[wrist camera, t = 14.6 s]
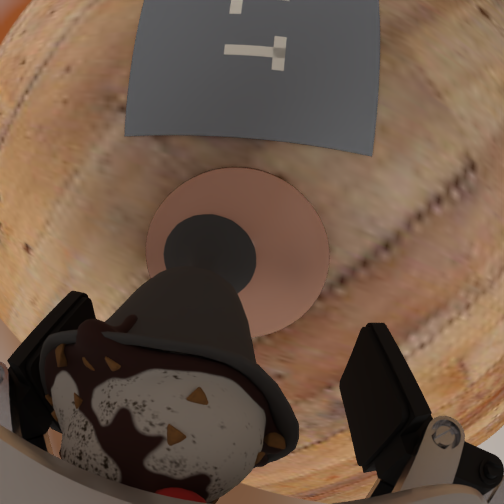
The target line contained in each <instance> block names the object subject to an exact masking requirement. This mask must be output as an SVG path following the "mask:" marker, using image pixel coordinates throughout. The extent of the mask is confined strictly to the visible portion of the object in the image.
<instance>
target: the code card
mask: <svg viewBox="0 0 504 504" xmlns="http://www.w3.org/2000/svg"><path fill="white" fill-rule="evenodd" d="M379 70H380V15H379V0H144V3H143V7H142V11H141V16H140V20H139V25H138V30H137V35H136V40H135V45H134V51H133V57H132V64H131V71H130V78H129V87H128V96H127V106H126V119H125V136H145V135H200V136H223V137H239V138H252V139H263V140H273V141H282V142H290V143H298V144H305V145H312V146H318V147H325V148H331V149H336V150H342V151H347V152H352V153H358V154H362V155H367V156H372V152H373V144H374V136H375V127H376V116H377V105H378V90H379Z"/></svg>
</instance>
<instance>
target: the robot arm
mask: <svg viewBox="0 0 504 504" xmlns="http://www.w3.org/2000/svg"><path fill="white" fill-rule="evenodd" d="M88 319H96V317H95V313H94V309H93V305H92V301H91V299H90V298H88V295H87V294H85V293H81V292H76V291H71V292H70V293H69V294H68V295H67V296H66V297H65V298H64V299H63V300H62V301H61V302H60V303H59V304H58V305H57V306H56V307H55V308H54V309H53V310H52V311H51V312H50V313H49V314H48V315H47V316H46V317H45V318H44V319H43V320H42V321H41V322H40V324H39V325H38V326H37V327H36V328H35V329H34V330H33V331H32V332H31V333H30V335H29V336H28V337H27V338H26V339H25V340H24V341H23V342H22V344H21V345H20V346H19V347H18V348H17V349H16V351H15V352H14V353H13V354H12V355H11V357H10V358H9V359H8V363H9V364H10V367H9V369H7V367H6V365H5V364H4V363H2V362H0V504H209V503H202V502H195V501H189V500H183V499H178V498H173V497H168V496H164V495H160V494H155V493H151V492H148V491H144V490H140V489H137V488H133V487H130V486H127V485H124V484H121V483H118V482H115V481H112V480H109V479H106V478H103V477H101V476H98V475H96V474H93V473H91V472H88V471H86V470H83V469H81V468H79V467H77V466H74V465H72V464H70V463H68V462H66V461H64V460H62V459H59V458H58V457H56V456H54V454H53V450H52V447H51V444H50V439H49V435H48V429H49V427H51V428H52V429H54V430H55V431H58V432H60V433H62V431H61V428H60V425H59V423H58V422H57V421H56V420H55V419H54V418H53V416H52V415H51V413H52V412H53V411H54V409H53V408H52V406H51V405H50V403H49V402H48V400H47V399H46V398H45V393H44V390H43V386H42V383H41V378H40V370H39V362H40V353H41V349H42V346H43V343H44V341H45V340H46V339H47V337H48V336H49V335H51V334H54V333H58V332H62V331H69V330H77V329H78V327H79V325H80V324H81V323H83V322H84V321H85V320H88ZM340 392H341V396H342V400H343V404H344V408H345V412H346V416H347V420H348V424H349V429H350V433H351V437H352V442H353V446H354V450H355V455H356V460H357V463H358V465H359V466H362V468H363V473H365V472H371V471H377V476H378V479H377V480H376V482H375V484H374V485H373V487H372V488H371V490H370V492H369V493H368V495H367V496H366V498H365V499H360V500H354V501H348V502H341V503H333V504H504V475H503V474H504V468H503V464H502V462H501V460H500V459H499V458H498V457H497V456H496V455H494V454H491V453H489V452H487V451H485V450H482V449H480V448H478V447H476V446H474V445H471V444H469V443H467V442H465V434H464V430H463V428H462V426H461V424H460V423H459V422H458V421H457V420H455V419H453V418H451V417H448V416H438V417H436V418H434V419H433V418H432V416H431V410H430V408H429V406H428V404H427V402H426V400H425V398H424V396H423V394H422V392H421V390H420V388H419V386H418V384H417V382H416V380H415V378H414V376H413V374H412V372H411V370H410V368H409V366H408V364H407V362H406V360H405V359H404V357H403V355H402V353H401V351H400V349H399V347H398V346H397V344H396V342H395V340H394V338H393V337H392V335H391V333H390V331H389V330H388V328H387V326H386V325H385V323H368V324H367V325H366V327H362V328H361V330H360V333H359V336H358V338H357V341H356V344H355V346H354V349H353V351H352V354H351V356H350V359H349V361H348V363H347V366H346V368H345V371H344V373H343V375H342V377H341V380H340ZM62 434H63V433H62Z"/></svg>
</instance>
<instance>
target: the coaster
mask: <svg viewBox="0 0 504 504" xmlns="http://www.w3.org/2000/svg"><path fill="white" fill-rule="evenodd" d="M202 214H214V215H218V216H222V217H225V218H227V219H230V220H232V221H234V222H235V223H236V224H238V225H239V226H240V227H241V228H242V229H243V230H245V231H246V232H247V234H248V236H249V237H250V239H251V240H252V243H253V245H254V247H255V251H256V269H255V272H254V275H253V277H252V279H251V281H250V282H249V283H248V285H247V286H246V287H245V288H244V289H243V290H241V291H240V292H239V293H238V296H239V298H240V300H241V303H242V306H243V308H244V311H245V314H246V317H247V319H248V323H249V328H250V333H251V338H252V337H258V336H263V335H267V334H270V333H273V332H276V331H278V330H281V329H283V328H285V327H286V326H288V325H290V324H292V323H293V322H295V321H296V320H297V319H299V318H300V317H301V316H302V315H303V314H304V313H305V312H307V311H308V309H309V308H310V307H311V306H312V305H313V303H314V302H315V301H316V299H317V298H318V296H319V294H320V293H321V290H322V288H323V286H324V284H325V281H326V277H327V274H328V268H329V244H328V238H327V235H326V231H325V228H324V226H323V224H322V221H321V219H320V217H319V215H318V214H317V212H316V211H315V209H314V208H313V206H312V205H311V204H310V202H309V201H308V200H307V199H306V198H305V197H304V196H303V195H302V193H300V192H299V191H298V190H297V189H296V188H295V187H293V186H292V185H291V184H289V183H288V182H286V181H284V180H283V179H281V178H279V177H277V176H275V175H273V174H270V173H268V172H264V171H261V170H258V169H252V168H245V167H227V168H219V169H215V170H211V171H207V172H204V173H202V174H200V175H197V176H195V177H193V178H191V179H190V180H188V181H186V182H185V183H183V184H182V185H180V186H179V187H178V188H176V189H175V190H174V191H173V192H172V193H170V194H169V195H168V197H167V198H166V199H165V200H164V201H163V202H162V204H161V205H160V207H159V208H158V210H157V211H156V213H155V215H154V217H153V219H152V221H151V224H150V227H149V231H148V234H147V241H146V261H147V267H148V271H149V274H150V278H153V277H154V276H155V275H157V274H158V273H160V272H162V271H164V270H166V266H165V263H164V255H163V253H164V246H165V243H166V239H167V237H168V236H169V234H170V233H171V231H172V230H173V229H174V228H175V226H176V225H177V224H179V223H180V222H182V221H183V220H185V219H187V218H190V217H192V216H195V215H202Z"/></svg>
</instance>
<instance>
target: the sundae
mask: <svg viewBox="0 0 504 504" xmlns="http://www.w3.org/2000/svg"><path fill="white" fill-rule="evenodd" d="M163 255H164V263H165V266H166V270H164V271H162V272H160V273H158V274H157V275H155V276H154V277H153V278H151V279H150V280H148V281H147V282H146V283H144V284H143V285H142V286H141V287H139V288H138V289H137V290H136V291H135V292H134V293H133V294H132V295H131V296H130V297H129V298H128V299H127V300H126V301H125V302H124V304H123V305H122V306H121V307H120V308H119V309H118V310H117V311H116V312H115V313H114V314H113V315H112V316H111V317H110V318H109V319H108V320H106V321H105V322H103V321H100V320H97V319H88V320H85V321H84V322H83V323H81V324H80V325H79V327H78V329H77V330H69V331H62V332H58V333H54V334H51V335H49V336H48V337H47V339H46V340H45V341H44V343H43V346H42V349H41V353H40V362H39V370H40V378H41V383H42V386H43V390H44V393H45V398H46V399H47V400H48V402H49V403H50V405H51V406H52V408H53V409H54V411H53V412H52V413H51V415H52V416H53V418H54V419H55V420H56V421H57V422H58V423H59V425H60V428H61V431H62V433H63V435H62V444H61V449H60V452H59V454H60V457H61V459H62V460H64V461H66V462H68V463H70V464H72V465H74V466H77V467H79V468H81V469H83V470H86V471H88V472H91V473H93V474H96V475H98V476H101V477H103V478H106V479H109V480H112V481H115V482H118V483H121V484H124V485H127V486H130V487H133V488H137V489H140V490H144V491H148V492H151V493H155V494H160V495H164V496H168V497H173V498H178V499H183V500H189V501H195V502H202V503H209V504H215V503H216V502H217V501H218V499H219V498H220V497H221V496H223V495H225V494H226V493H227V492H229V491H230V490H231V489H233V488H234V487H235V486H237V485H238V484H239V483H240V482H241V481H242V480H243V479H244V478H245V477H246V476H247V475H248V474H249V473H250V472H251V471H252V469H253V468H255V467H262V466H264V465H266V464H267V463H269V462H273V461H276V460H278V459H280V458H283V457H285V456H286V455H288V454H289V453H290V452H292V451H293V450H294V449H295V448H296V445H297V442H298V439H299V423H298V421H297V419H296V417H295V415H294V412H293V410H292V408H291V406H290V404H289V402H288V401H287V399H286V397H285V396H284V394H283V393H282V391H281V389H280V388H279V386H278V384H277V383H276V382H275V381H274V380H273V379H272V378H271V377H270V376H269V375H268V374H267V373H266V372H265V371H264V370H263V369H262V368H261V367H260V366H259V365H258V364H256V360H255V354H254V349H253V344H252V339H251V333H250V328H249V323H248V319H247V317H246V314H245V311H244V308H243V306H242V303H241V300H240V298H239V296H238V293H239V292H240V291H241V290H243V289H244V288H245V287H246V286H247V285H248V283H249V282H250V281H251V279H252V277H253V275H254V272H255V269H256V251H255V247H254V245H253V243H252V240H251V239H250V237H249V236H248V234H247V232H246V231H245V230H243V229H242V228H241V227H240V226H239V225H238V224H236V223H235V222H234V221H232V220H230V219H227V218H225V217H222V216H218V215H214V214H202V215H195V216H192V217H190V218H187V219H185V220H183V221H182V222H180V223H179V224H177V225H176V226H175V228H174V229H173V230H172V231H171V233H170V234H169V236H168V237H167V239H166V243H165V246H164V253H163Z"/></svg>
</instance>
